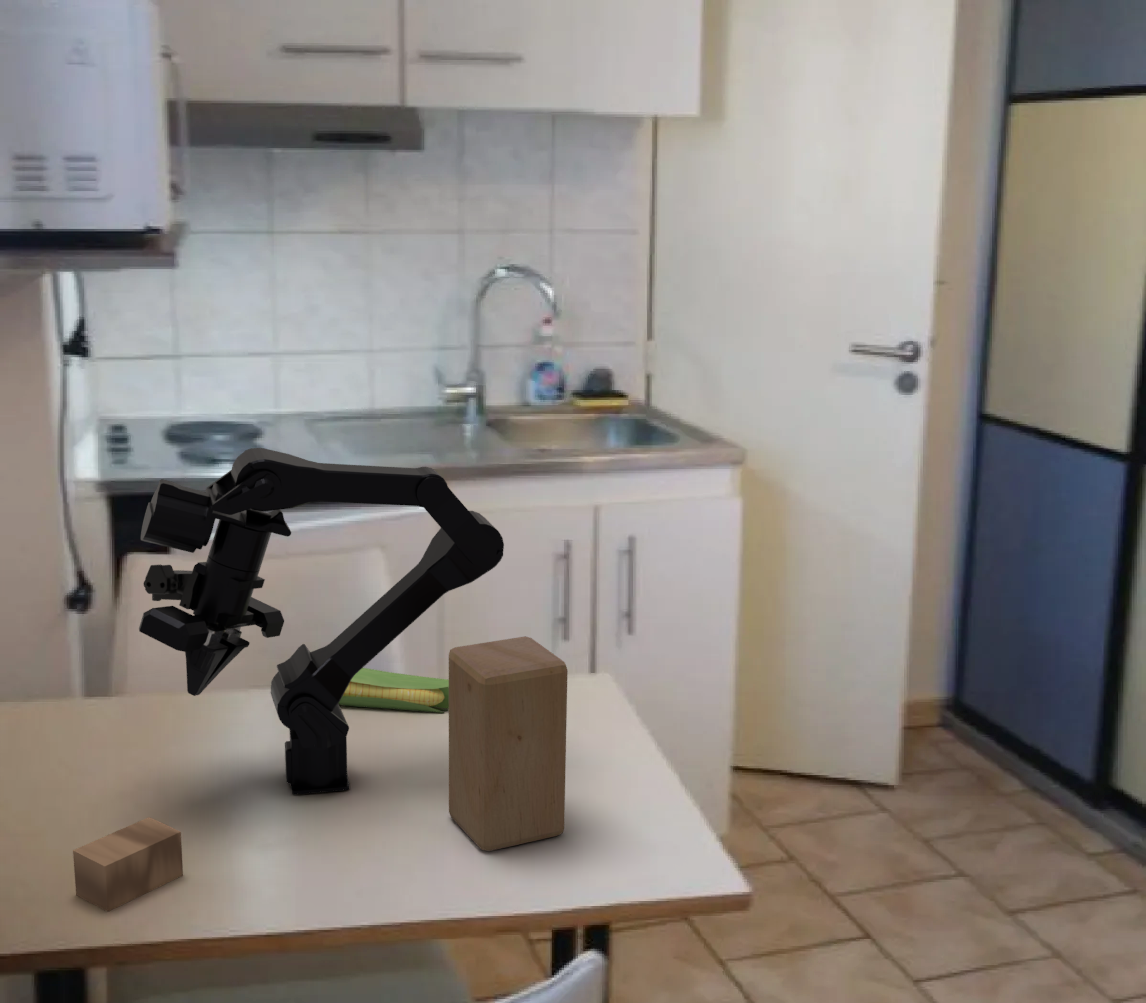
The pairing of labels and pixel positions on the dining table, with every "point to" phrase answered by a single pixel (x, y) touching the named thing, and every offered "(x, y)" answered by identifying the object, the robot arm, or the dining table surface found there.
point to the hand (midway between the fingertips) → (193, 694)
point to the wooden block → (507, 742)
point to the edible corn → (396, 691)
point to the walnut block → (128, 863)
